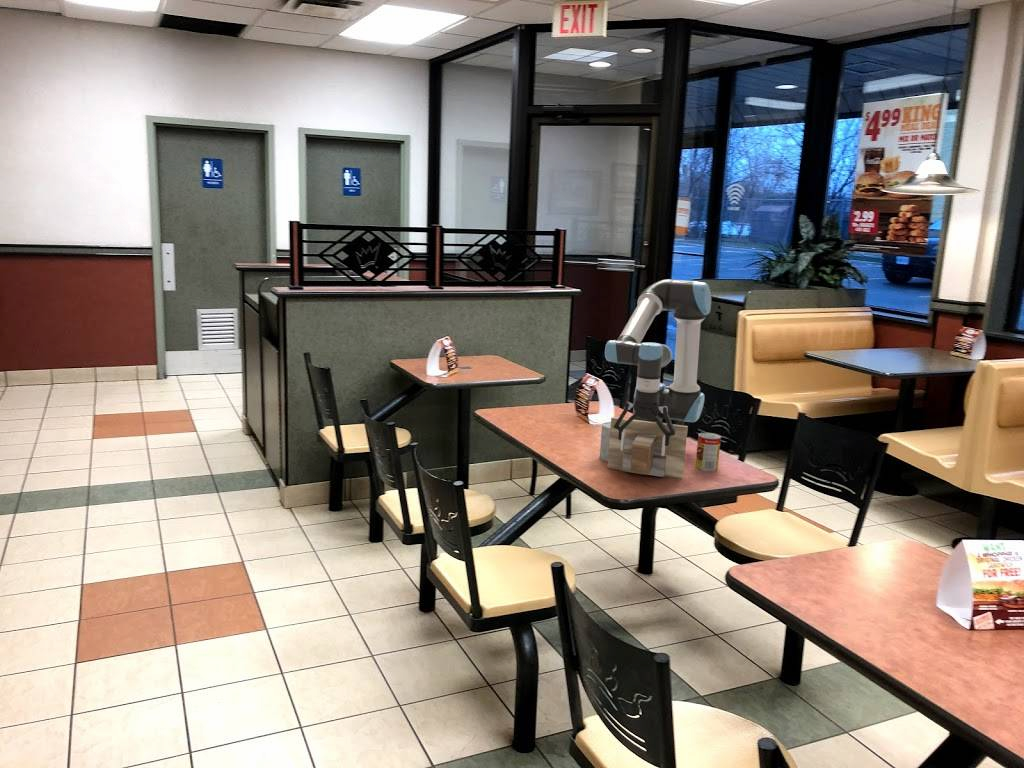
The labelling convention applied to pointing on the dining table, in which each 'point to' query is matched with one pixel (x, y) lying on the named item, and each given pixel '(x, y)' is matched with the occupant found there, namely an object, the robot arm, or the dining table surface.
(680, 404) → the robot arm
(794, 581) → the dining table surface
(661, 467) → the wall board
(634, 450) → the upright wooden block
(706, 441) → the canned food
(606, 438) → the grey-green block
